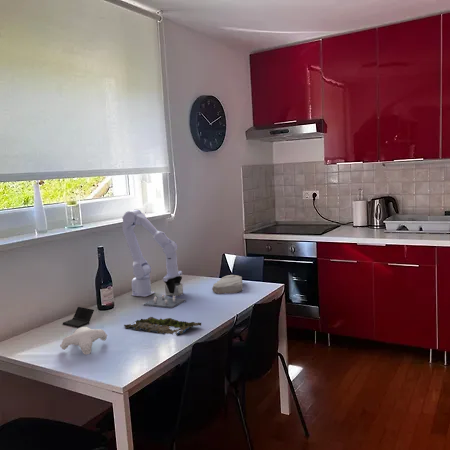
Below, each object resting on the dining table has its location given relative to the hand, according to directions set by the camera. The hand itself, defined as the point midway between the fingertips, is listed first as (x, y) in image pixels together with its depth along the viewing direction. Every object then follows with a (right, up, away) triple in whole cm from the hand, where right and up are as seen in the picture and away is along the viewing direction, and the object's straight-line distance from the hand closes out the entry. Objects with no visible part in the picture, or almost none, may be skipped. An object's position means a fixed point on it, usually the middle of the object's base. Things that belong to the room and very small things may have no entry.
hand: (174, 291), depth 239 cm
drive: (0, -1, 0) cm, 1 cm away
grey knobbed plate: (-3, -3, -14) cm, 15 cm away
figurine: (-26, -12, -64) cm, 70 cm away
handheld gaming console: (-38, -9, -34) cm, 52 cm away
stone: (+30, +1, +5) cm, 30 cm away
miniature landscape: (0, -8, -48) cm, 49 cm away
